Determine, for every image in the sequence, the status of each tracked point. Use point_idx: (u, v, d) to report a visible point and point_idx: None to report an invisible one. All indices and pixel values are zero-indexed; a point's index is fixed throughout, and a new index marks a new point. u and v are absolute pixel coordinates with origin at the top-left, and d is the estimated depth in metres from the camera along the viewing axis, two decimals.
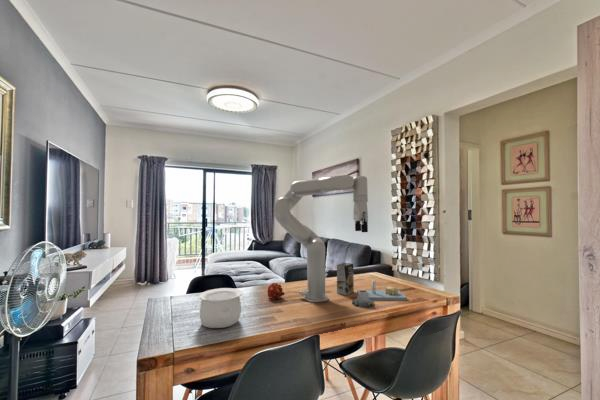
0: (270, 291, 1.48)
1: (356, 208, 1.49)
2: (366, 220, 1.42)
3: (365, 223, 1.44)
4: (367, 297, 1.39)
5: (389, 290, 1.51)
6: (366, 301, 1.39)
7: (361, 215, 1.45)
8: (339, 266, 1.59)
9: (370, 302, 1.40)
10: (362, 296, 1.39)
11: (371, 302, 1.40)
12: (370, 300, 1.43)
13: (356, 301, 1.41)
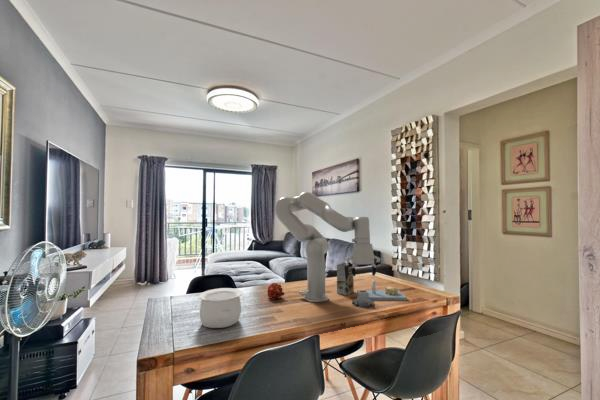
0: (270, 291, 1.48)
1: (366, 251, 1.39)
2: None
3: None
4: (367, 297, 1.39)
5: (389, 290, 1.51)
6: (366, 301, 1.39)
7: (373, 258, 1.40)
8: (339, 266, 1.59)
9: (370, 302, 1.40)
10: (362, 296, 1.39)
11: (371, 302, 1.40)
12: (370, 300, 1.43)
13: (356, 301, 1.41)
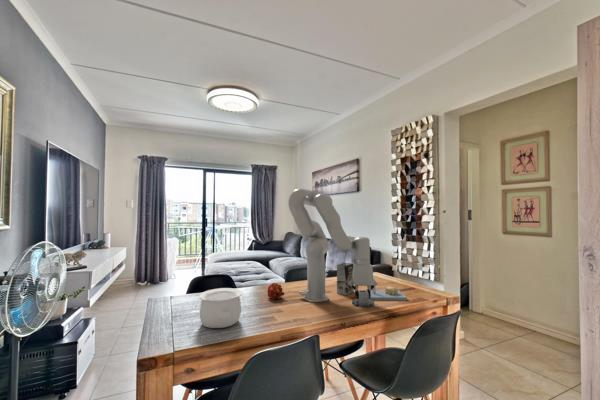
0: (270, 291, 1.48)
1: (366, 272, 1.39)
2: None
3: None
4: (367, 297, 1.39)
5: (389, 290, 1.51)
6: (366, 301, 1.39)
7: None
8: (339, 266, 1.59)
9: (370, 302, 1.40)
10: (362, 296, 1.39)
11: (371, 302, 1.40)
12: (370, 300, 1.43)
13: (356, 301, 1.41)
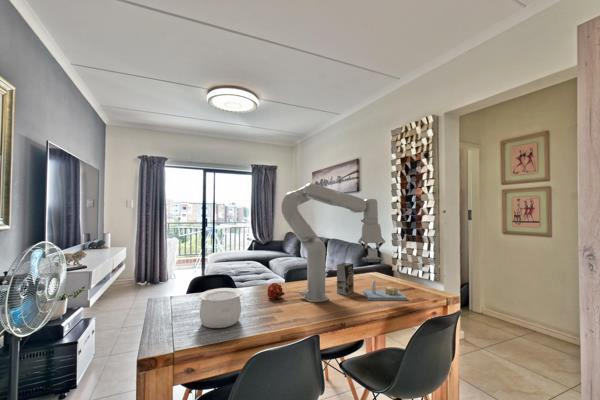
0: (270, 291, 1.48)
1: (374, 230, 1.50)
2: None
3: None
4: (376, 253, 1.50)
5: (389, 290, 1.51)
6: (375, 257, 1.50)
7: None
8: (339, 266, 1.59)
9: (379, 258, 1.50)
10: (371, 253, 1.50)
11: (380, 258, 1.50)
12: (379, 257, 1.54)
13: (366, 258, 1.52)
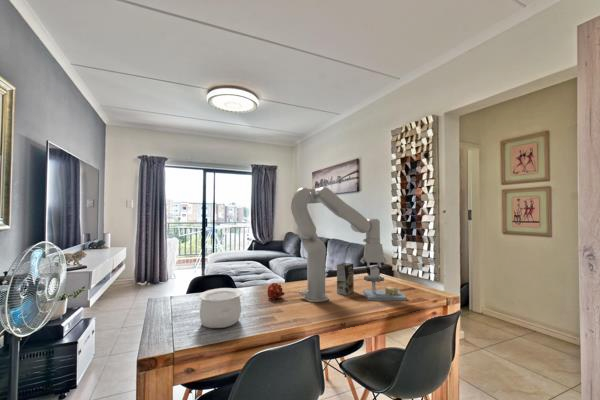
0: (270, 291, 1.48)
1: (376, 250, 1.52)
2: None
3: None
4: (378, 273, 1.52)
5: (389, 290, 1.51)
6: (377, 277, 1.52)
7: None
8: (339, 266, 1.59)
9: (380, 278, 1.53)
10: (373, 272, 1.52)
11: (381, 278, 1.53)
12: (380, 276, 1.56)
13: (368, 277, 1.54)
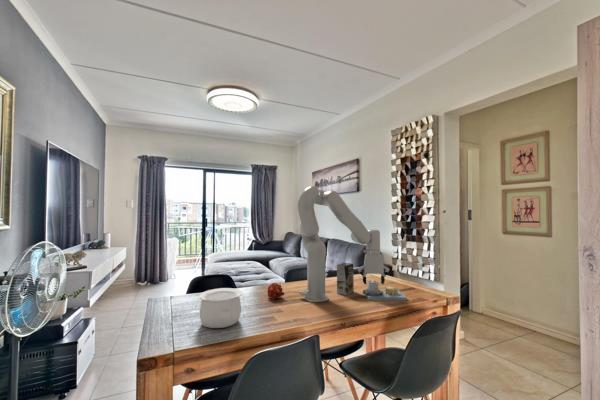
0: (270, 291, 1.48)
1: (376, 261, 1.52)
2: None
3: None
4: (377, 287, 1.51)
5: (389, 290, 1.51)
6: (376, 291, 1.51)
7: None
8: (339, 266, 1.59)
9: (379, 292, 1.52)
10: (372, 286, 1.52)
11: (380, 292, 1.52)
12: (379, 290, 1.56)
13: (366, 291, 1.54)
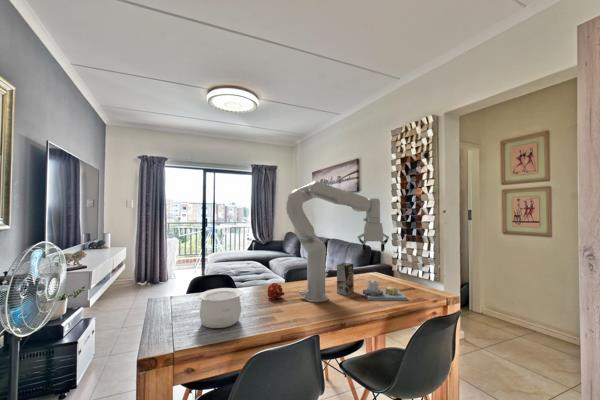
0: (270, 291, 1.48)
1: (376, 229, 1.53)
2: None
3: None
4: (377, 287, 1.51)
5: (389, 290, 1.51)
6: (376, 291, 1.51)
7: None
8: (339, 266, 1.59)
9: (379, 292, 1.52)
10: (372, 286, 1.52)
11: (380, 292, 1.52)
12: (379, 290, 1.56)
13: (366, 291, 1.54)
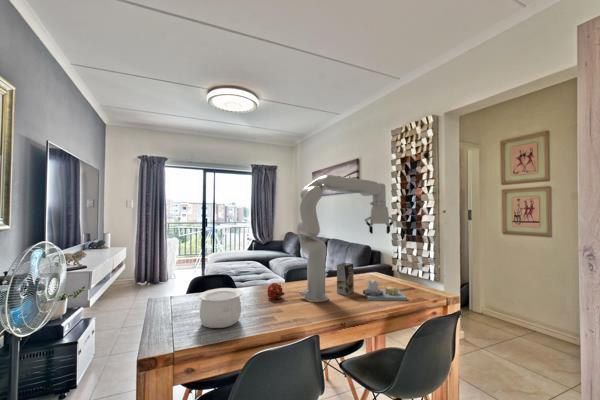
0: (270, 291, 1.48)
1: (382, 212, 1.64)
2: None
3: None
4: (377, 287, 1.51)
5: (389, 290, 1.51)
6: (376, 291, 1.51)
7: None
8: (339, 266, 1.59)
9: (379, 292, 1.52)
10: (372, 286, 1.52)
11: (380, 292, 1.52)
12: (379, 290, 1.56)
13: (366, 291, 1.54)
